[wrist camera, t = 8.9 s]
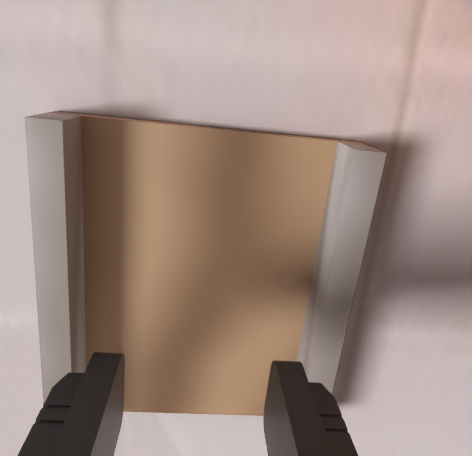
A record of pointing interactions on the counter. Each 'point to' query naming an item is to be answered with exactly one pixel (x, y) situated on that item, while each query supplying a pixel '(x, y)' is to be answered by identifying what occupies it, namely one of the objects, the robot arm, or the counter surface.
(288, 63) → the counter surface
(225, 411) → the track
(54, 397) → the robot arm
